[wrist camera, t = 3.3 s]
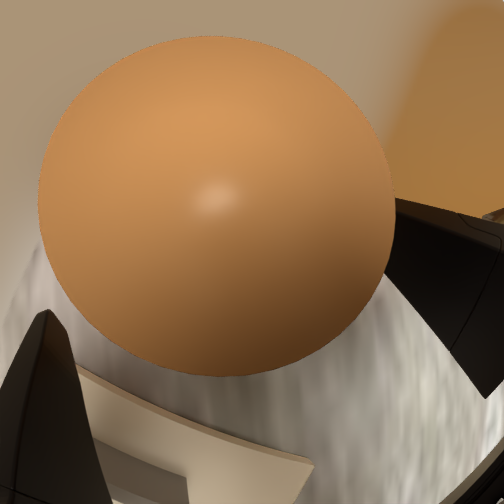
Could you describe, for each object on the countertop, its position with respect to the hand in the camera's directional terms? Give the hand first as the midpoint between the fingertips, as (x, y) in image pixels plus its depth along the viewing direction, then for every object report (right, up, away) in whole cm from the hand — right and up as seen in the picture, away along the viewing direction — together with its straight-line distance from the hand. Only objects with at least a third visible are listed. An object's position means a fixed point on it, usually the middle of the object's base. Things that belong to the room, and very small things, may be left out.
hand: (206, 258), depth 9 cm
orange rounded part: (-2, -1, +8) cm, 8 cm away
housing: (-5, -15, +5) cm, 16 cm away
